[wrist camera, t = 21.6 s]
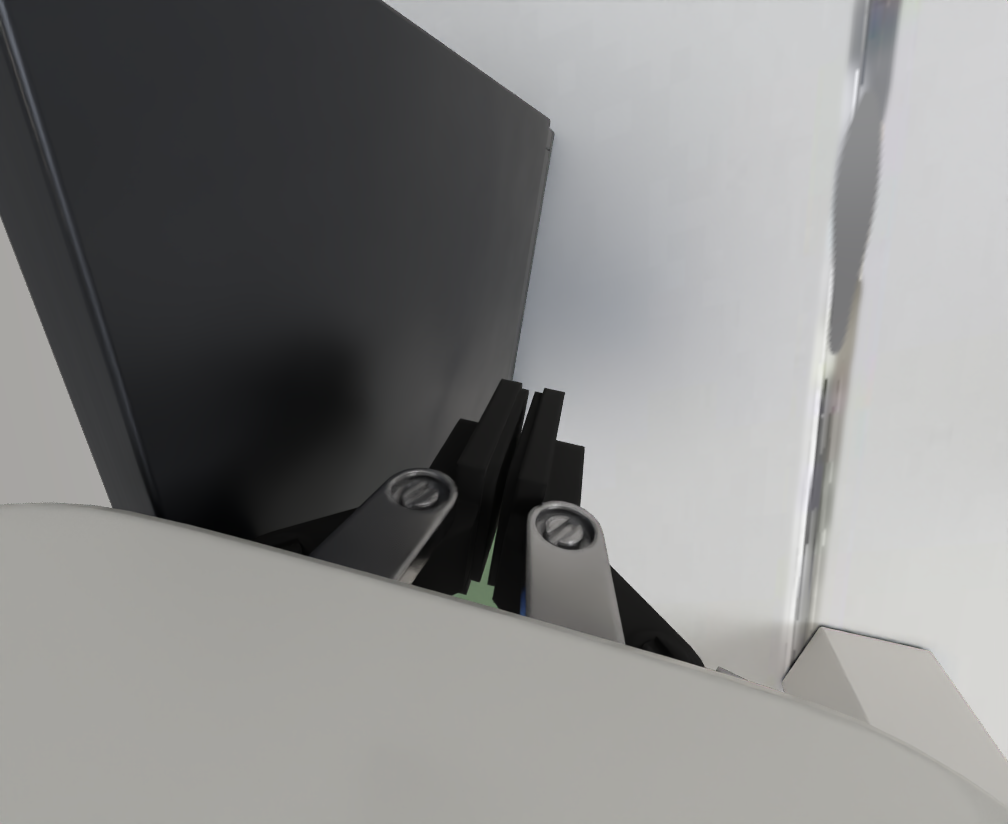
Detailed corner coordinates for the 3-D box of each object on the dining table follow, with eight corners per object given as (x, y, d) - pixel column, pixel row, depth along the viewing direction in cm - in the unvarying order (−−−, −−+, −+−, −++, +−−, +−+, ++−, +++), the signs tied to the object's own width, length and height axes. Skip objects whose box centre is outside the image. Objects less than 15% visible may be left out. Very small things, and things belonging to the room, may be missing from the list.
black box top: (237, 837, 10) (266, 853, 10) (-231, -356, 2) (-121, -364, 2) (480, 456, 24) (494, 461, 24) (530, 115, 16) (551, 119, 16)
